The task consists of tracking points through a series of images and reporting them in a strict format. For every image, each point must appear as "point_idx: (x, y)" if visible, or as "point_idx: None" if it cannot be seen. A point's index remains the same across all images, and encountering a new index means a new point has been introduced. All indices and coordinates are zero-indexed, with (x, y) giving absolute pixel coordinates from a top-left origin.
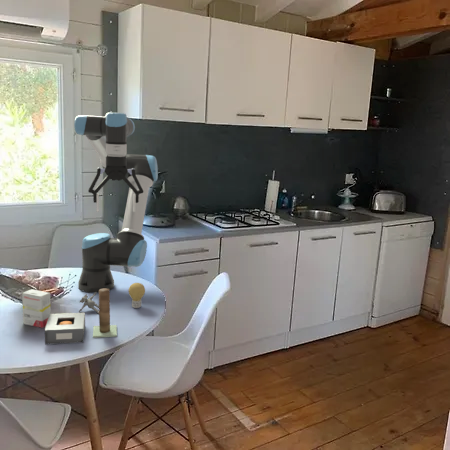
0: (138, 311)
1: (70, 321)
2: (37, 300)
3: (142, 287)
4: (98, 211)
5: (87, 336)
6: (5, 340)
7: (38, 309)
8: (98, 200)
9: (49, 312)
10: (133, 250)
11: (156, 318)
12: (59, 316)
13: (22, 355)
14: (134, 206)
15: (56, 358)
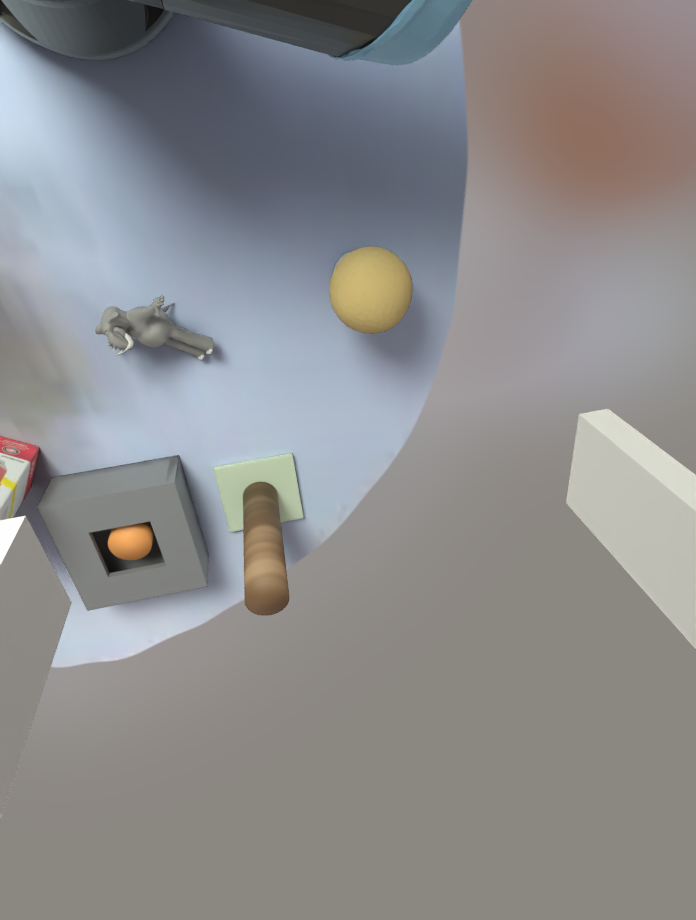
0: None
1: (140, 530)
2: None
3: (404, 313)
4: (65, 604)
5: (210, 522)
6: None
7: None
8: (9, 782)
9: (23, 480)
10: (390, 40)
11: (430, 379)
12: (88, 521)
13: (63, 630)
14: (625, 551)
15: (164, 629)
